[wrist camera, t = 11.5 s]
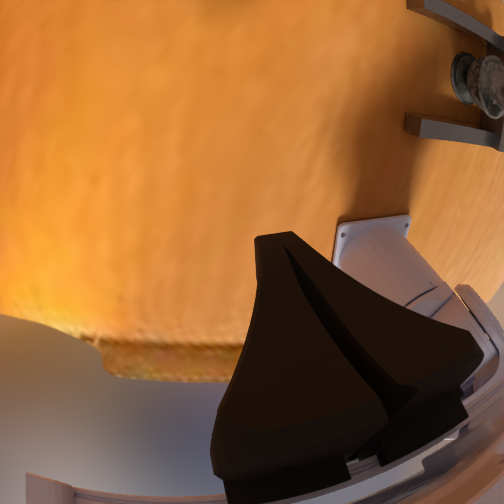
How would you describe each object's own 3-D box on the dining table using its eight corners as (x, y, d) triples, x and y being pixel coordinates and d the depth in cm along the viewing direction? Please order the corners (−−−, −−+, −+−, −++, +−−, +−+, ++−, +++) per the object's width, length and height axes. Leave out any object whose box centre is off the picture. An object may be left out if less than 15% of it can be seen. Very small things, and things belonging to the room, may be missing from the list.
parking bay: (484, 141, 20) (504, 152, 18) (403, 129, 19) (427, 141, 16) (492, 37, 13) (515, 42, 11) (406, -7, 11) (432, -10, 9)
